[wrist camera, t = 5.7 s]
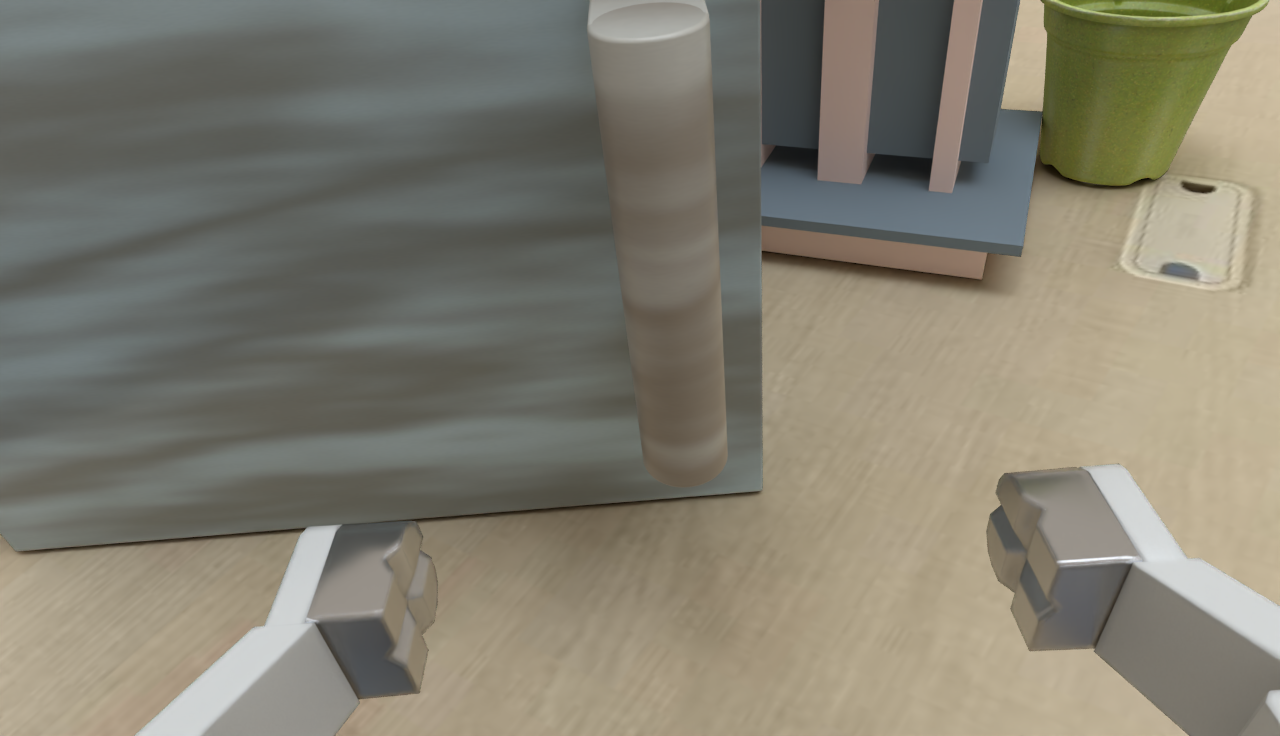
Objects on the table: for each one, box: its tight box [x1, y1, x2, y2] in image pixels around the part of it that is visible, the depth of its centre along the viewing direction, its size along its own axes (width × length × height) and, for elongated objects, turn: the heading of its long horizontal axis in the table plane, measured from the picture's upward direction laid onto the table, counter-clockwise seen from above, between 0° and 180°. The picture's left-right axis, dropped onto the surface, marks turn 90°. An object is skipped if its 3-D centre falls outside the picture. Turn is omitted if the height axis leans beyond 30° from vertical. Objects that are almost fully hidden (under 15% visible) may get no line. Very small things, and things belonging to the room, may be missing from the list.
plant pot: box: [1040, 0, 1269, 186], centre depth 41 cm, size 9×9×9 cm
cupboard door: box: [0, 0, 763, 551], centre depth 19 cm, size 7×26×24 cm, turn 91°
